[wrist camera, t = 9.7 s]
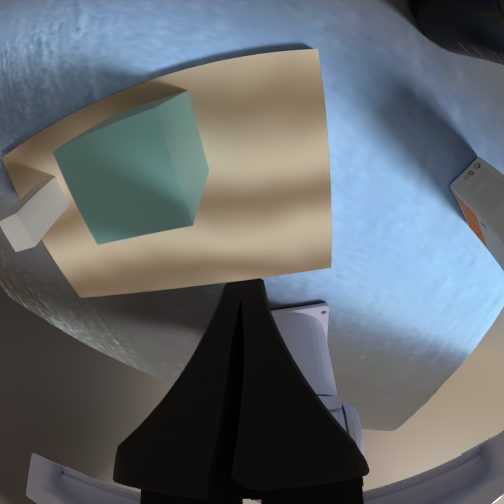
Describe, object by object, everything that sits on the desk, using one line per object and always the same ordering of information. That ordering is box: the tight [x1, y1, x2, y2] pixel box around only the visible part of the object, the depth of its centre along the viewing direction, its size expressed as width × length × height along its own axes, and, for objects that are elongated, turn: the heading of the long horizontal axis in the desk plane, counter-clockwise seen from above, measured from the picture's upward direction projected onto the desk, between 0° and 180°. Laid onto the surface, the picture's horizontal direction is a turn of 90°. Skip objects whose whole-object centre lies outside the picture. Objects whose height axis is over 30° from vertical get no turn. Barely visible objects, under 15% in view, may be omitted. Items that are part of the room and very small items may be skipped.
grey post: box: [0, 176, 69, 252], centre depth 15 cm, size 3×3×5 cm
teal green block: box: [53, 91, 209, 245], centre depth 13 cm, size 5×5×6 cm
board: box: [2, 49, 332, 298], centre depth 18 cm, size 16×24×1 cm, turn 100°
